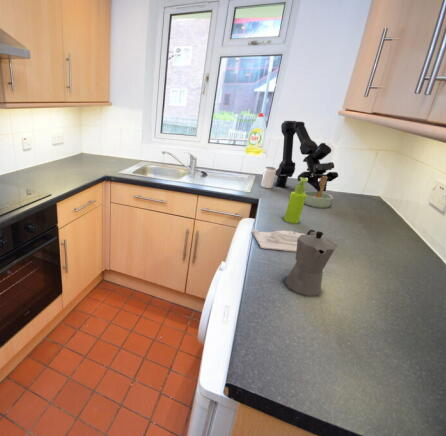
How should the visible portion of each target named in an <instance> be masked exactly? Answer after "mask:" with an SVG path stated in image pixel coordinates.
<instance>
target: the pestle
mask: <svg viewBox="0 0 446 436" xmlns="http://www.w3.org/2000/svg"><path fill="white" fill-rule="evenodd" d="M326 180H327V177H326V176H321V180H320V179H319V181H320V183H319V186H320V191H317V190H316V196H313V197H316V198H321V199H323V197H321V196H322V193H324V191H323V190H324V187H325V184H326Z"/></svg>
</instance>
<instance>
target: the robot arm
mask: <svg viewBox="0 0 446 436" xmlns="http://www.w3.org/2000/svg"><path fill="white" fill-rule="evenodd" d="M280 128H281V130H280V131H281V134H282V136H283V148H282V161H280V163H279V164H278V168H276V174H275V177H277V178H276V181H275V182H274V186H275V187H279V188H287V182H288V179H289V178H292V177H293V175H294V174H295V171H296V162H294V161H293V150H294V149H293V148H294V137H295V134H296V136H297V138H298V141H299V143H300V146H299V150H300V151H299V152H300V153H301V155H303V156H304V158H303V160H302V162H303V163H306V166H307V168H306V171H302V172H300V174H298V175H297V177H296V178H297V182H300V180H301V179H300V177H302V178H306V179H307V182H306V183H307V184H309V185H310V186H312V188H314V189H315V191H316V192H317V191H320V186H319V183H320V180H321V176H326V177H327V180H326V184H325V187H324V190H323V192H326V190H327V186H328V185H327V184H328V183H329V182H333V181H334V180H335V179H337V178H339V173H338V171H332V170H333V169H334V168H335V163H334V162H333V161H330V162H326V163H325V162H322V163H321V160H324V159H325V158H326V157H327V156H329V155H330V154H331V153H332V148H331V147H330V146H329V145H327V144H326V142H321V143H320V144H319V145H318V144H317V143H316V141H314V140H313V139H312V138H311V137H310V134H309V132H308V130H307V128H306V126H305V122H304V121H296V120H284V121H283V122H282V123H281V125H280ZM327 171H329V172H327Z"/></svg>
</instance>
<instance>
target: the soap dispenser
mask: <svg viewBox="0 0 446 436" xmlns="http://www.w3.org/2000/svg"><path fill="white" fill-rule="evenodd" d="M300 179H301V180H300V181H299V183H298V184H296V185H295V189H294V191H291V192H290V196H289V200H288V203H287V206H286V211H285V214H284V218H283V221H285V222H287V223H290V224H299V222H300V219H301V215H302V212H303V209H304V206H305V204H304V202H305V199H306V195H307V194H305V193H304V192H305V189H306V185H305V183H307V181H308V178H302V177H300Z"/></svg>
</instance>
